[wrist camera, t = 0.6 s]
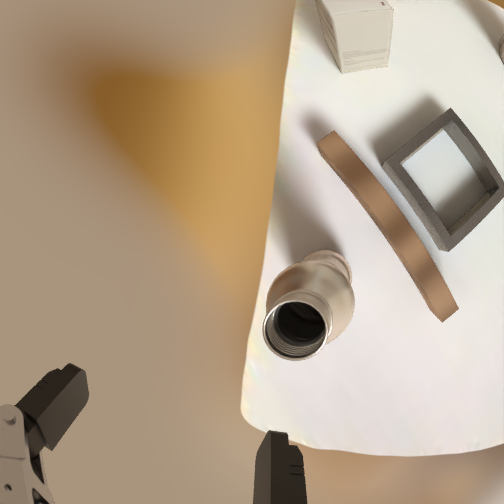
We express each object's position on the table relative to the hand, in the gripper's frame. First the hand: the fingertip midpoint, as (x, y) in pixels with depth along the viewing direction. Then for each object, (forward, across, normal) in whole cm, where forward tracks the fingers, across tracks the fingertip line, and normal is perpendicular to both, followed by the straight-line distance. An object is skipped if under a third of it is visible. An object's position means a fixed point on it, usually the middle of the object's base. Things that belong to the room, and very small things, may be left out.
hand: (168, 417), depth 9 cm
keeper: (+22, -23, -18) cm, 36 cm away
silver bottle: (+25, -11, -1) cm, 27 cm away
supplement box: (+28, -9, -33) cm, 44 cm away
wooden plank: (+23, -17, -10) cm, 30 cm away
